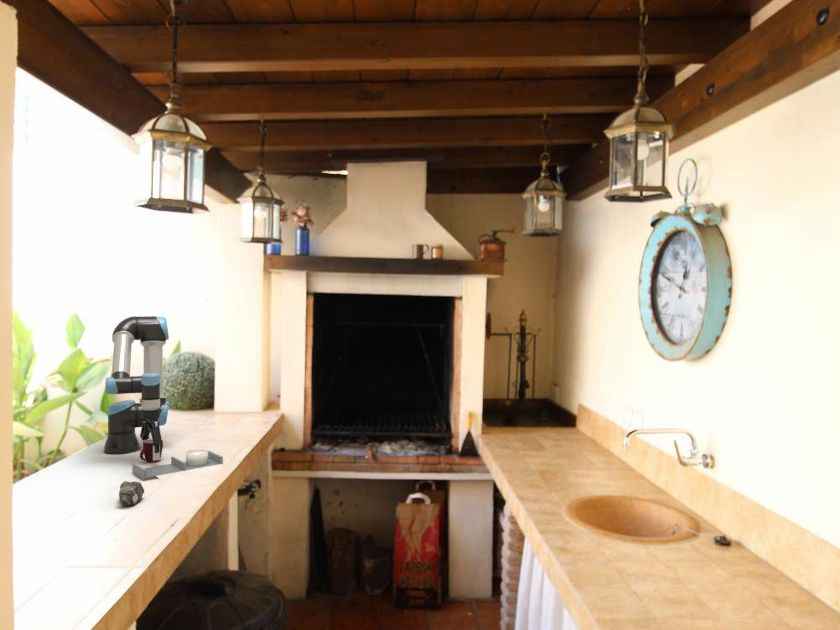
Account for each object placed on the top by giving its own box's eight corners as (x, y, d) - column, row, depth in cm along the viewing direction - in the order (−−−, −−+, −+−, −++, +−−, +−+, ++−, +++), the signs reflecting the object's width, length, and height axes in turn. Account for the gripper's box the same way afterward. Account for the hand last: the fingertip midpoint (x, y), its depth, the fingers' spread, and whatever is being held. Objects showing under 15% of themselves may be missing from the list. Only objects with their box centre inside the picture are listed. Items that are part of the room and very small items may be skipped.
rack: (132, 473, 257) (132, 463, 257) (209, 459, 279) (209, 450, 279) (143, 480, 246) (143, 470, 246) (222, 466, 269) (222, 456, 268)
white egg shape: (182, 463, 268) (182, 451, 268) (202, 459, 274) (202, 448, 274) (190, 467, 262) (190, 455, 262) (211, 463, 268) (211, 452, 268)
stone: (145, 514, 220) (138, 494, 215) (123, 520, 218) (116, 499, 213) (146, 487, 231) (140, 468, 226) (125, 492, 229) (119, 472, 224)
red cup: (149, 468, 264) (149, 445, 264) (134, 466, 267) (134, 443, 267) (166, 462, 274) (166, 439, 274) (152, 460, 277) (152, 438, 277)
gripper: (132, 406, 277) (132, 453, 277) (151, 413, 258) (152, 464, 258) (149, 404, 282) (149, 450, 282) (170, 411, 263) (170, 461, 263)
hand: (150, 457), depth 270 cm, fingers open, 13 cm apart
